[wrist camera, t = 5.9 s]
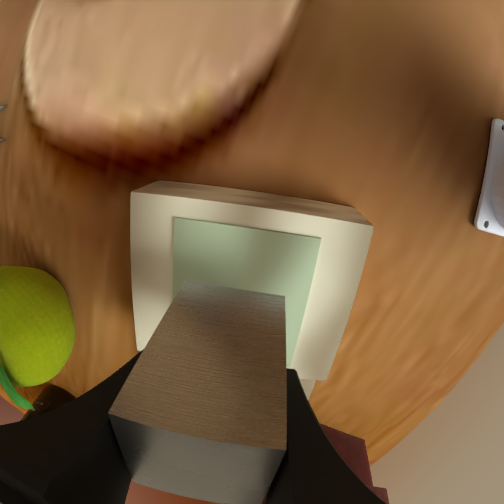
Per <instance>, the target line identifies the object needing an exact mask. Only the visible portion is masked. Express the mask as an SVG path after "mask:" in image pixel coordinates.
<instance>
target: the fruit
mask: <svg viewBox="0 0 504 504" xmlns="http://www.w3.org/2000/svg"><path fill="white" fill-rule="evenodd" d="M75 334H76V328H75V320H74V315H73V312H72V308H71V305H70V302H69V299H68V296H67V293H66V291H65V290H64V288H63V286H62V285H61V284H60V283H59V282H58V281H57V280H56V279H55V278H54V277H53V276H51V275H50V274H48V273H47V272H45V271H43V270H41V269H37V268H32V267H24V266H11V265H10V266H0V383H1V385H2V387H3V389H4V390H5V392H6V393H7V394H8V396H9V397H10V398H11V399H12V401H13V402H14V403H15V404H16V405H17V406H19V407H21V408H25V409H34V408H33V406H32V405H31V403H30V402H29V401H27V400H26V399H25V398H24V397H22V396H21V395H20V394H19V393H18V392H17V391H16V390H15V389H14V387H29V386H36V385H39V384H42V383H45V382H47V381H49V380H50V379H52V378H53V377H54V376H56V375H57V374H58V373H59V372H60V371H61V369H62V368H63V367H64V365H65V363H66V362H67V360H68V358H69V356H70V354H71V352H72V349H73V346H74V342H75Z"/></svg>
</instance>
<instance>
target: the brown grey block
mask: <svg viewBox="0 0 504 504" xmlns="http://www.w3.org/2000/svg"><path fill="white" fill-rule="evenodd" d="M108 415H109V418H110V421H111V424H112V427H113V430H114V433H115V436H116V439H117V441H118V444H119V447H120V449H121V452H122V455H123V457H124V460H125V462H126V465H127V467H128V470H129V472H130V474H131V477H132V479H133V481H134V483H137V484H140V485H144V486H147V487H150V488H154V489H158V490H161V491H165V492H169V493H173V494H177V495H181V496H186V497H190V498H195V499H200V500H205V501H211V502H217V503H223V504H261V503H262V501H263V499H264V497H265V495H266V493H267V491H268V489H269V487H270V485H271V483H272V481H273V479H274V476H275V474H276V472H277V470H278V468H279V466H280V463H281V461H282V459H283V457H284V454H285V452H286V442H287V371H286V313H285V296H283V295H276V294H269V293H262V292H255V291H249V290H242V289H236V288H229V287H223V286H217V285H211V284H205V283H199V282H193V281H187V280H185V281H184V283H183V285H182V286H181V288H180V290H179V291H178V293H177V294H176V296H175V298H174V299H173V301H172V303H171V304H170V306H169V308H168V309H167V311H166V313H165V314H164V316H163V318H162V319H161V321H160V323H159V324H158V326H157V328H156V329H155V331H154V333H153V334H152V336H151V338H150V340H149V341H148V343H147V345H146V346H145V348H144V350H143V352H142V353H141V355H140V357H139V359H138V360H137V362H136V364H135V365H134V367H133V369H132V371H131V373H130V374H129V376H128V378H127V380H126V381H125V383H124V385H123V387H122V388H121V390H120V392H119V394H118V396H117V397H116V399H115V401H114V403H113V405H112V407H111V408H110V410H109V412H108Z"/></svg>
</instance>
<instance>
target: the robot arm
mask: <svg viewBox="0 0 504 504" xmlns="http://www.w3.org/2000/svg"><path fill="white" fill-rule="evenodd" d="M502 126H503V130H502ZM485 221H486V224H485V226H484V223H485ZM474 225H475V227H476V228H478V229H479V230H482V231H486V232H490V233H493V234H497V235H500V236H503V237H504V121H503V120H501V119H498V118H495V119H493V121H492V127H491V136H490V144H489V151H488V158H487V164H486V170H485V175H484V180H483V185H482V190H481V195H480V199H479V204H478V208H477V212H476V216H475V220H474ZM143 350H144V349H143ZM143 350H142V351H140V352H139V353H138V354H137V355H136V356H135V357H133V358H132V359H131V360H130V361H129V362H127V363H126V364H125V365H124V366H123V367H121V368H120V369H119V370H117V371H116V372H115V373H114V374H112V375H111V376H110V377H108V378H107V379H106V380H104V381H103V382H101V383H100V384H98V385H97V386H95V387H94V388H93V389H91V390H89V391H88V392H86V393H85V394H83V395H81V396H80V397H78V398H76V399H74V400H72V401H71V402H69V403H67V404H65V405H62V406H60V407H58V408H56V409H54V410H51V411H49V412H47V413H44V414H41V415H39V416H36V417H33V418H29V419H26V420H23V421H19V422H15V423H10V424H5V425H0V504H125V500H126V496H127V493H128V489H129V486H130V482H131V478H132V477H131V474H130V472H129V470H128V467H127V465H126V462H125V460H124V457H123V455H122V452H121V449H120V447H119V444H118V441H117V439H116V436H115V433H114V430H113V427H112V424H111V421H110V418H109V415H108V412H109V410H110V408H111V407H112V405H113V403H114V401H115V399H116V397H117V396H118V394H119V392H120V390H121V388H122V387H123V385H124V383H125V381H126V380H127V378H128V376H129V374H130V373H131V371H132V369H133V367H134V365H135V364H136V362H137V360H138V359H139V357H140V355H141V353H142V352H143ZM286 371H287V442H286V452H285V454H284V457H283V459H282V461H281V463H280V466H279V468H278V470H277V472H276V474H275V476H274V479H273V481H272V483H271V485H270V487H269V489H268V491H267V493H266V495H265V503H264V504H386V503H385V502H384V501H382V500H381V499H380V498H379V497H378V496H377V495H376V494H375V493H373V492H372V491H371V490H370V489H369V488H368V487H367V486H366V485H365V484H364V483H363V482H362V481H361V480H360V478H359V477H358V476H357V475H356V474H355V473H354V472H353V471H352V470H351V469H350V467H349V466H348V465H347V464H346V462H345V461H344V460H343V459H342V457H341V456H340V455H339V453H338V452H337V451H336V449H335V448H334V446H333V445H332V443H331V442H330V440H329V439H328V437H327V435H326V434H325V432H324V430H323V429H322V427H321V425H320V423H319V422H318V420H317V418H316V416H315V414H314V412H313V410H312V408H311V406H310V404H309V401H308V399H307V397H306V395H305V392H304V390H303V387H302V385H301V382H300V379H299V376H298V373H297V371H296V370H295V369H289V368H286Z"/></svg>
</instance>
